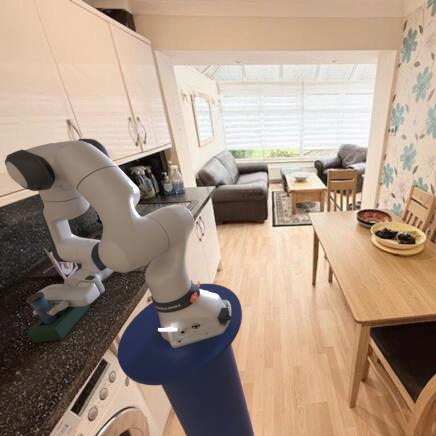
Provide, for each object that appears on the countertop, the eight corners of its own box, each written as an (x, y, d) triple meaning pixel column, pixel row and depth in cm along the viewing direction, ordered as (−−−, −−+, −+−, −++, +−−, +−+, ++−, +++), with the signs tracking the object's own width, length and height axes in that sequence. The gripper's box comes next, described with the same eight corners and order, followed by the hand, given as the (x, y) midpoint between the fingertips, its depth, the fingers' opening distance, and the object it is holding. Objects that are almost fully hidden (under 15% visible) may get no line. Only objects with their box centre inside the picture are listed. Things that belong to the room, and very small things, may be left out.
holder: (90, 305, 89) (84, 295, 87) (62, 339, 76) (54, 328, 74) (67, 308, 88) (61, 298, 86) (35, 343, 75) (26, 332, 73)
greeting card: (69, 281, 103) (52, 252, 96) (48, 286, 100) (29, 257, 94) (80, 267, 112) (65, 239, 106) (61, 271, 110) (44, 243, 104)
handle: (68, 325, 81) (46, 291, 75) (60, 334, 78) (36, 300, 71) (56, 326, 81) (33, 292, 74) (47, 336, 77) (22, 301, 71)
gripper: (49, 277, 87) (6, 306, 74) (102, 277, 85) (67, 306, 73) (58, 291, 89) (18, 321, 77) (109, 290, 88) (76, 321, 75)
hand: (42, 314), depth 75 cm, fingers closed on handle, 3 cm apart
